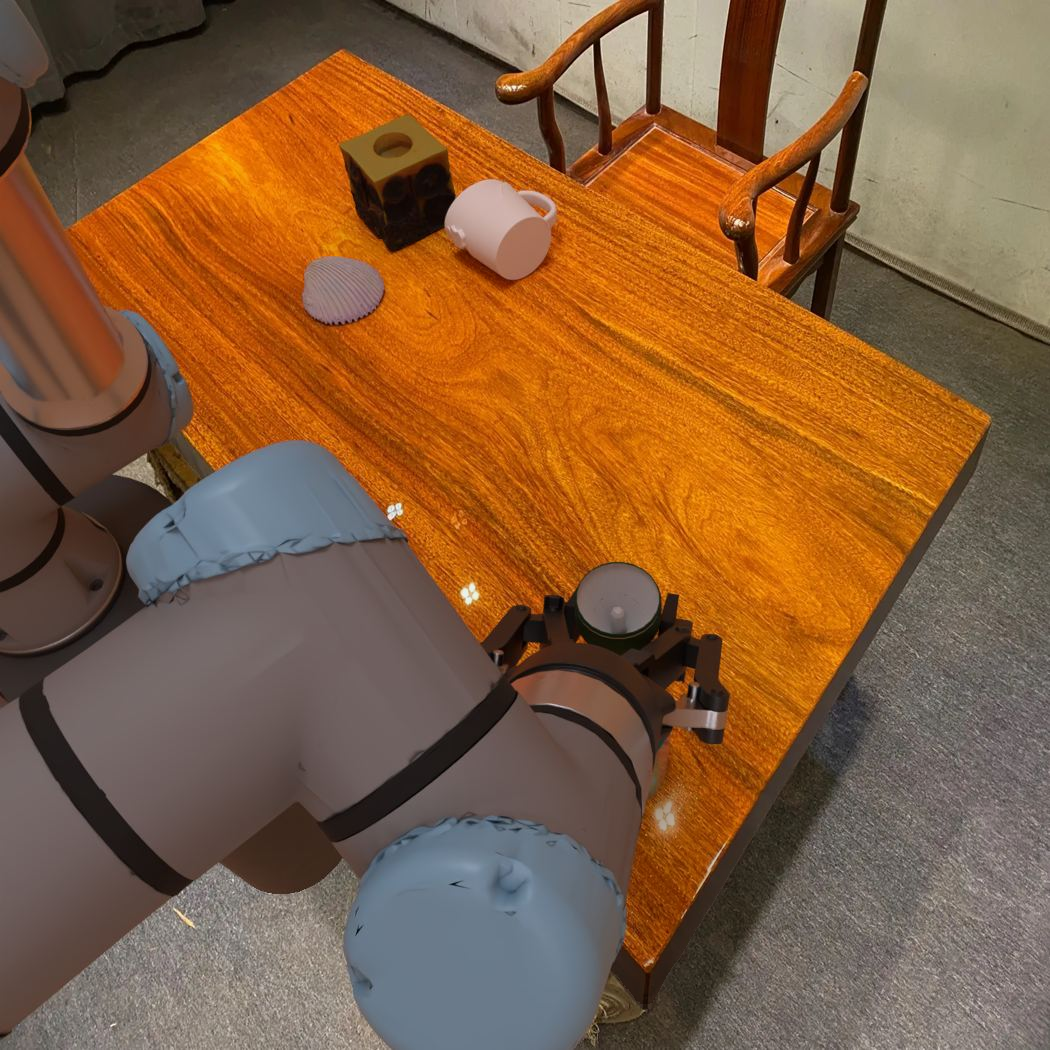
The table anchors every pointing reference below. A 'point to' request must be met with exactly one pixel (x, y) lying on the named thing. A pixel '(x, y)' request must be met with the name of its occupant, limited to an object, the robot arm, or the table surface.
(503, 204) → the mug
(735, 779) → the table surface
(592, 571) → the flashlight
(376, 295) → the seashell
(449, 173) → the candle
